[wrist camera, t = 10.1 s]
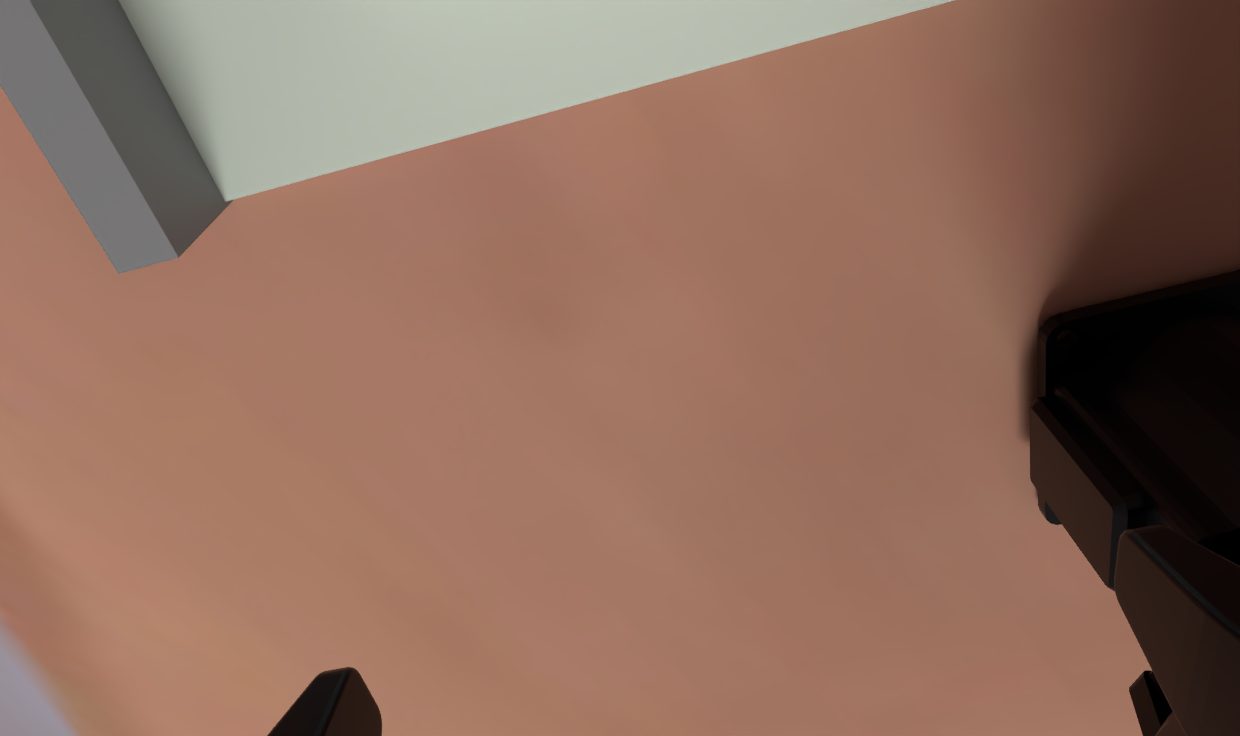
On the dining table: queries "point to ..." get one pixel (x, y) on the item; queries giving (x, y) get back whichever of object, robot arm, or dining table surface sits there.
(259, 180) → the mat
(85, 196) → the corner walls
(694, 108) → the dining table surface
